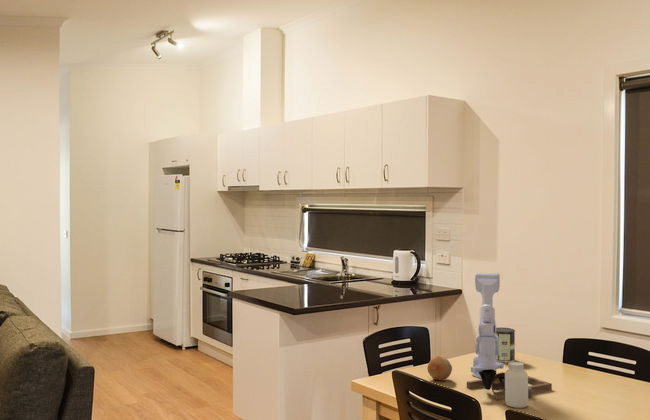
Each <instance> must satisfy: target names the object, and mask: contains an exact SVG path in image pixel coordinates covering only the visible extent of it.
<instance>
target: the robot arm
mask: <svg viewBox="0 0 650 420" xmlns="http://www.w3.org/2000/svg"><path fill="white" fill-rule="evenodd" d="M500 275H501V274H500V273H499V272H497V273H496V272H491V273H490V272H477V271H476V273H475V274H474V283H475V285H474V286H475V290H476V292H478V293H480V295H481V299H482V300H481V301H482V303H481V304H482V305H481V307H480V308H479V324H478V332H477V333H478V334H477V335H476V336H475V343H474V344H475V345H474V348H475V351H474V352H475V355H474V357H473V361H472V362H473V364H472V366H471V367H470V372H471V376H474V377H475V378H478V379H482V381H483V384H484V386H483V388H484V390H487V391H489V390H491V389H492V388H491V384H492V381H493V379H494V377H495V375H496V374H497V370H499V369H501V370H502V369H504V364H505V363H504V362H497V361H496V358H497V356H499V355H500V342H499V337H498V336H497V335H496V328H497V323H496V311H495V310H496V308H495V307H494V306H493V303H494V302H493V300H494V299H493V297H494V295H495V294H496V293H499V291H500V286H501V284H500V283H501V280H500V278H501V277H500ZM494 333H495V334H494Z"/></svg>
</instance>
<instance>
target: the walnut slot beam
mask: <svg viewBox="0 0 650 420" xmlns="http://www.w3.org/2000/svg"><path fill="white" fill-rule="evenodd" d="M494 383H500V381H499V379H498V378H497V379H496V380H495V381H494ZM491 385H492V384H491ZM528 387H531V395H533V394H537V393H542V392H543V393H544V392H547V391H548V392H549V391H552V390H553V387H552V383H551V382H547V381H546V380H542V379H538V378H536V377H533V376H530V375H528ZM466 388H467V389H476V388H484V384H483V381H482V379H481V378H479V379H474V380H469V381H466ZM493 400H496V401H500V400H505V390H502V391H501V390H499V391H495V392H493Z"/></svg>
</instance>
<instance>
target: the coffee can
mask: <svg viewBox="0 0 650 420" xmlns="http://www.w3.org/2000/svg"><path fill="white" fill-rule="evenodd" d="M515 332H516V330H515V329H513V328H510V327H496V335H497V336H498V337H499V342H500V355H499V356H497V358H496V363H499V362H500V363H504V364H505V363H509V362H516V354H515V353H516V352H515V351H516V350H515V349H516V347H515V346H516V343H515V342H516V341H515V340H516V339H515V335H516V334H515ZM494 334H495V333H494Z"/></svg>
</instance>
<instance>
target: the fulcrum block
mask: <svg viewBox="0 0 650 420" xmlns="http://www.w3.org/2000/svg"><path fill="white" fill-rule="evenodd" d="M531 398H532V394H531V387H528V399H531Z"/></svg>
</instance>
